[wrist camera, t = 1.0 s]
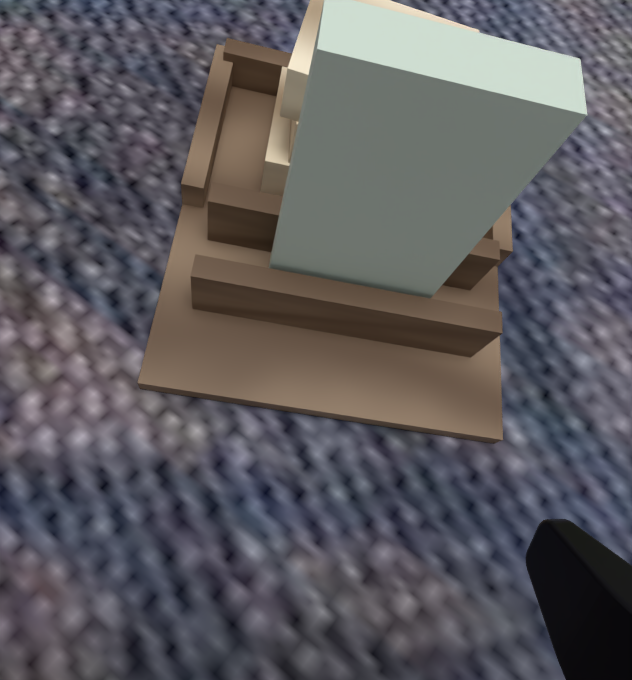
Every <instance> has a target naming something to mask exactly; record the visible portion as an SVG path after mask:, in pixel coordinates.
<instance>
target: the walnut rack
mask: <svg viewBox="0 0 632 680" xmlns="http://www.w3.org/2000/svg"><path fill="white" fill-rule="evenodd" d="M291 56H292V54H291V53H287V52H283V51H279V50H274V49H270V48H266V47H262V46H258V45H254V44H250V43H245V42H241V41H237V40H233V39H229V38H227V40H226V44H225V46H222V45H218V44H217V46H216V50H215V54H214V58H213V61H212V65H211V69H210V73H209V77H208V81H207V85H206V89H205V93H204V97H203V100H202V104H201V108H200V112H199V116H198V120H197V124H196V128H195V132H194V136H193V139H192V143H191V147H190V151H189V155H188V159H187V163H186V167H185V171H184V174H183V178H182V182H181V189H182V208H181V212H180V216H179V220H178V224H177V228H176V232H175V236H174V240H173V244H172V248H171V252H170V256H169V260H168V264H167V268H166V272H165V276H164V280H163V284H162V288H161V292H160V296H159V300H158V304H157V308H156V312H155V316H154V320H153V323H152V327H151V331H150V335H149V339H148V343H147V347H146V351H145V355H144V359H143V363H142V367H141V371H140V375H139V379H138V385H139V388H140V389H145V390H152V391H158V392H165V393H171V394H178V395H184V396H191V397H197V398H204V399H210V400H217V401H223V402H229V403H236V404H242V405H249V406H255V407H262V408H268V409H275V410H281V411H288V412H294V413H301V414H307V415H314V416H320V417H326V418H333V419H339V420H346V421H352V422H359V423H365V424H372V425H378V426H385V427H391V428H398V429H404V430H411V431H417V432H423V433H430V434H436V435H443V436H449V437H456V438H462V439H469V440H475V441H482V442H488V443H496V442H499V441H501V440H503V428H502V396H501V364H500V335H501V334H502V312H499V299H498V266H499V265H500V264H501V263H502V262H503V261H504V260H505V259H506V258H507V257H508V256H509V255H510V254H511V253H512V252H513V250H512V227H511V205H510V206H509V207H508V208H507V209H506V211H505V212H504V213H503V214H502V215H501V216H500V218H499V219H498V220H497V221H496V222H495V223H494V225H493V226H492V227H491V228H490V229H489V230H488V232H487V233H486V234H485V235H484V236H483V237H482V239H481V240H480V241H479V242H478V243H477V245H476V246H475V247H474V248H473V249H472V250H471V252H470V253H469V254H468V255H467V256H466V257H465V259H464V260H463V261H462V262H461V263H460V264H459V266H458V267H457V268H456V269H455V270H454V271H453V273H452V274H451V275H450V276H449V277H448V279H447V280H446V281H445V282H444V283H443V284H442V286H441V287H440V288H439V289H438V290H437V291H436V293H435V294H434V295H433V296H432V297H431V298H425V297H420V296H415V295H409V294H404V293H399V292H393V291H388V290H383V289H377V288H372V287H367V286H362V285H356V284H351V283H346V282H340V281H335V280H330V279H324V278H319V277H314V276H308V275H303V274H298V273H293V272H287V271H282V270H277V269H271V268H269V262H270V256H271V252H272V247H273V242H274V237H275V232H276V228H277V223H278V218H279V213H280V209H281V204H282V199H283V196H279V195H274V194H269V193H264V192H260V191H261V185H262V178H263V171H264V164H265V158H266V152H267V147H268V141H269V136H270V130H271V125H272V120H273V114H274V109H275V103H276V98H277V92H278V87H279V81H280V76H281V71H282V66H283V67H287V68H288V65H289V62H290V59H291Z"/></svg>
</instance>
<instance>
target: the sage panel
mask: <svg viewBox="0 0 632 680" xmlns="http://www.w3.org/2000/svg"><path fill="white" fill-rule="evenodd" d="M586 115H587V110H586V102H585V94H584V86H583V77H582V69H581V61H580V59H578V58H575V57H571V56H567V55H563V54H559V53H555V52H551V51H547V50H544V49H540V48H536V47H532V46H528V45H524V44H520V43H516V42H513V41H509V40H505V39H501V38H497V37H493V36H489V35H485V34H482V33H478V32H474V31H470V30H466V29H462V28H458V27H454V26H451V25H447V24H443V23H439V22H435V21H431V20H427V19H423V18H420V17H416V16H412V15H408V14H404V13H400V12H396V11H392V10H389V9H385V8H381V7H377V6H373V5H369V4H365V3H361V2H358V1H354V0H324V3H323V7H322V12H321V17H320V22H319V26H318V31H317V36H316V41H315V46H314V50H313V55H312V60H311V65H310V70H309V74H308V79H307V84H306V89H305V94H304V98H303V103H302V108H301V113H300V118H299V122H298V127H297V132H296V137H295V141H294V146H293V151H292V156H291V161H290V165H289V170H288V175H287V180H286V185H285V189H284V194H283V199H282V204H281V209H280V213H279V218H278V223H277V228H276V232H275V237H274V242H273V247H272V252H271V256H270V262H269V268H271V269H277V270H282V271H287V272H293V273H298V274H303V275H308V276H314V277H319V278H324V279H330V280H335V281H340V282H346V283H351V284H356V285H362V286H367V287H372V288H377V289H383V290H388V291H393V292H399V293H404V294H409V295H415V296H420V297H425V298H431V297H432V296H433V295H434V294H435V293H436V291H437V290H438V289H439V288H440V287H441V286H442V284H443V283H444V282H445V281H446V280H447V279H448V277H449V276H450V275H451V274H452V273H453V271H454V270H455V269H456V268H457V267H458V266H459V264H460V263H461V262H462V261H463V260H464V259H465V257H466V256H467V255H468V254H469V253H470V252H471V250H472V249H473V248H474V247H475V246H476V245H477V243H478V242H479V241H480V240H481V239H482V237H483V236H484V235H485V234H486V233H487V232H488V230H489V229H490V228H491V227H492V226H493V225H494V223H495V222H496V221H497V220H498V219H499V218H500V216H501V215H502V214H503V213H504V212H505V211H506V209H507V208H508V207H509V206H510V205H511V203H512V202H513V201H514V200H515V199H516V198H517V196H518V195H519V194H520V193H521V192H522V191H523V189H524V188H525V187H526V186H527V185H528V184H529V182H530V181H531V180H532V179H533V178H534V176H535V175H536V174H537V173H538V172H539V171H540V169H541V168H542V167H543V166H544V165H545V164H546V162H547V161H548V160H549V159H550V158H551V157H552V155H553V154H554V153H555V152H556V151H557V150H558V148H559V147H560V146H561V145H562V144H563V142H564V141H565V140H566V139H567V138H568V137H569V135H570V134H571V133H572V132H573V131H574V130H575V128H576V127H577V126H578V125H579V124H580V123H581V121H582V120H583V119H584V118H585V117H586Z"/></svg>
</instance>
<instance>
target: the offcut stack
mask: <svg viewBox="0 0 632 680" xmlns="http://www.w3.org/2000/svg"><path fill="white" fill-rule="evenodd" d="M354 1H358V2H361V3H365V4H369V5H373V6H377V7H381V8H385V9H389V10H392V11H396V12H400V13H404V14H408V15H412V16H416V17H420V18H423V19H427V20H431V21H435V22H439V23H443V24H447V25H451V26H454V27H458V28H462V29H466V30H470V31H474V32H478V33H479V30H477V29H474V28H471V27H468V26H465V25H462V24H459V23H456V22H453V21H450V20H447V19H444V18H441V17H438V16H435V15H432V14H429V13H426V12H423V11H420V10H417V9H414V8H411V7H408V6H405V5H402V4H399V3H396V2H393V1H390V0H354ZM323 3H324V0H310V3H309V6H308V9H307V11H306V14H305V17H304V20H303V23H302V26H301V29H300V32H299V35H298V38H297V41H296V44H295V47H294V50H293V53H292V56H291V59H290V62H289V65H288V68H287V67H283V66H282V71H281V76H280V81H279V87H278V92H277V98H276V103H275V109H274V114H273V120H272V125H271V130H270V136H269V141H268V147H267V152H266V158H265V164H264V171H263V178H262V185H261V191H260V192H264V193H269V194H274V195H279V196H283V194H284V189H285V185H286V180H287V175H288V170H289V165H290V161H291V156H292V151H293V146H294V141H295V137H296V132H297V127H298V122H299V118H300V113H301V108H302V103H303V98H304V94H305V89H306V84H307V79H308V74H309V70H310V65H311V60H312V55H313V50H314V46H315V41H316V36H317V31H318V26H319V22H320V17H321V12H322V7H323Z"/></svg>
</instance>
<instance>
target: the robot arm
mask: <svg viewBox="0 0 632 680" xmlns="http://www.w3.org/2000/svg"><path fill="white" fill-rule="evenodd" d="M526 566H527V570H528V573H529V576H530V579H531V582H532V585H533V588H534V591H535V594H536V597H537V600H538V603H539V606H540V609H541V612H542V615H543V618H544V621H545V624H546V627H547V630H548V633H549V636H550V639H551V642H552V645H553V648H554V650H555V653H556V656H557V659H558V661H559V664H560V666H561V669H562V671H563V674H564V676H565V679H566V680H632V566H631V565H630V564H629V563H627V562H626V561H625V560H623V559H622V558H620V557H619V556H618V555H616V554H615V553H614V552H612V551H611V550H610V549H608V548H607V547H605V546H604V545H603V544H601V543H600V542H599V541H597V540H596V539H594V538H593V537H592V536H590V535H589V534H588V533H586V532H585V531H583V530H582V529H581V528H579V527H578V526H577V525H575V524H574V523H572V522H571V521H569V520H566V519H546V520H543V521H542V522H541V523H540V524H539V526H538V528H537V530H536V532H535V535H534V537H533V539H532V541H531V543H530V546H529V548H528V550H527V553H526Z"/></svg>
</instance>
